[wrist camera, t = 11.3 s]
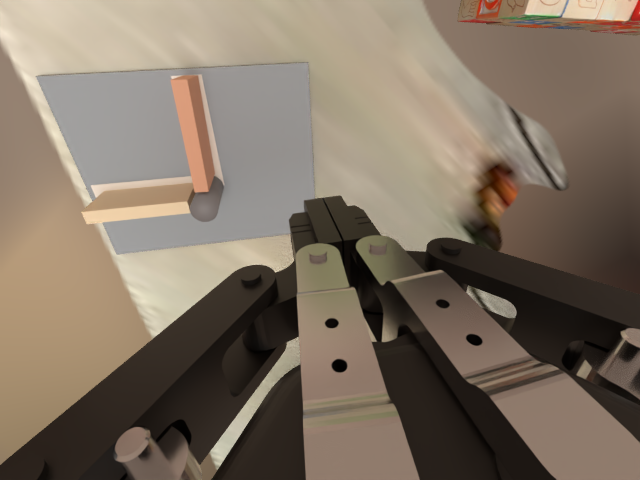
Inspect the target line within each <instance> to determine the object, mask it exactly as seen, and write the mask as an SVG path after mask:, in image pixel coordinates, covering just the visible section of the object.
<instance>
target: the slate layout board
mask: <svg viewBox="0 0 640 480" xmlns="http://www.w3.org/2000/svg"><path fill="white" fill-rule="evenodd" d="M183 75H198V79H199V85H200V91H201V96H202V102H203V108H204V113H205V119H206V125H207V131H208V136H209V142H210V148H211V153H212V159H213V165H214V170H215V175H214V178H213V181H212V184H211V187H210V189H209V192H196V193H195V191H194V187H193V182H192V178H191V173H190V168H189V164H188V159H187V155H186V150H185V145H184V141H183V136H182V131H181V127H180V122H179V118H178V113H177V108H176V104H175V99H174V95H173V90H172V85H171V81H170V80H171V79H174V78H177V77H180V76H183ZM36 78H37V80H38V82H39V84H40V86H41V89H42V91H43V93H44V95H45V97H46V100H47V102H48V104H49V106H50V108H51V111H52V113H53V115H54V117H55V119H56V122H57V124H58V126H59V128H60V131H61V133H62V135H63V137H64V139H65V142H66V144H67V146H68V148H69V150H70V153H71V155H72V157H73V159H74V161H75V164H76V166H77V168H78V170H79V172H80V175H81V177H82V179H83V181H84V183H85V186H86V188H87V190H88V192H89V194H90V197H91V199H92V201H93V202H91V203H90V204H89V205H88V206H87V207H86V208H85V209H84V210H83V211H82V212H81V213H82V215H83V217H84V219H85V221H86V223H87V224H91V223H103V225H104V227H105V230H106V232H107V234H108V236H109V238H110V241H111V243H112V245H113V247H114V249H115V252H116V254H126V253H134V252H143V251H151V250H160V249H168V248H176V247H185V246H193V245H202V244H210V243H219V242H227V241H236V240H244V239H253V238H261V237H270V236H278V235H287V234H290V226H289V219H290V217H291V216H292V214H293V213H301V212H304V200H309V199H315V189H314V169H313V149H312V129H311V109H310V89H309V69H308V62H306V63H286V64H266V65H246V66H226V67H206V68H186V69H166V70H146V71H127V72H107V73H87V74H67V75H47V76H36Z"/></svg>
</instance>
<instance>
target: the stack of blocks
mask: <svg viewBox="0 0 640 480" xmlns="http://www.w3.org/2000/svg"><path fill="white" fill-rule="evenodd" d="M458 22H476V23H486V24H489V25H504V26H517V27H531V28H543V27H544V28H558V29H575V30H589V31H591V32H603V33H615V34H625V35H640V0H461V4H460V8H459V14H458Z"/></svg>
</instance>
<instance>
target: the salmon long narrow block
mask: <svg viewBox="0 0 640 480" xmlns="http://www.w3.org/2000/svg"><path fill="white" fill-rule="evenodd" d="M170 81H171V85H172V90H173V95H174V99H175V104H176V108H177V113H178V118H179V122H180V127H181V131H182V136H183V141H184V145H185V150H186V155H187V159H188V164H189V168H190V173H191V178H192V182H193V187H194V191H195V193H196V192H209V189H210V187H211V184H212V181H213V178H214V175H215V170H214V165H213V159H212V153H211V148H210V142H209V136H208V131H207V125H206V119H205V113H204V108H203V102H202V96H201V91H200V85H199V79H198V75H183V76H180V77H177V78H174V79H171V80H170Z"/></svg>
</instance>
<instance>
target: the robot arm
mask: <svg viewBox="0 0 640 480" xmlns="http://www.w3.org/2000/svg"><path fill="white" fill-rule="evenodd" d="M289 226H290V234H291V242H292V250H293V256H294V262H293V263H292V264H291V265H290V266H289V267H287V268H286V269H284V270H281V271H279V272H276V273H275V272H274V270H272V269H271V268H270V267H267V266H263V265H251V266H246V267H243V268H241V269H239V270H237V271H235V272H234V273H232V274H231V275H230V276H229V277H228V278H226V279H225V280H224V281H223V282H221V283H220V284H219V285H218V286H217V287H215V288H214V289H213V290H212V291H211V292H209V293H208V294H207V295H206V296H205V297H203V298H202V299H201V300H200V301H198V302H197V303H196V304H195V305H194V306H192V307H191V308H190V309H189V310H188V311H186V312H185V313H184V314H183V315H181V316H180V317H179V318H178V319H177V320H175V321H174V322H173V323H172V324H171V325H169V326H168V327H167V328H166V329H164V330H163V331H162V332H161V333H160V334H158V335H157V336H156V337H155V338H154V339H152V340H151V341H150V342H149V343H147V344H146V345H145V346H144V347H143V348H141V349H140V350H139V351H138V352H137V353H135V354H134V355H133V356H132V357H130V358H129V359H128V360H127V361H126V362H124V363H123V364H122V365H121V366H120V367H118V368H117V369H116V370H115V371H114V372H112V373H111V374H110V375H109V376H108V377H106V378H105V379H104V380H103V381H101V382H100V383H99V384H98V385H97V386H95V387H94V388H93V389H92V390H91V391H89V392H88V393H87V394H86V395H84V396H83V397H82V398H81V399H80V400H78V401H77V402H76V403H75V404H74V405H72V406H71V407H70V408H69V409H68V410H66V411H65V412H64V413H63V414H62V415H60V416H59V417H58V418H57V419H55V420H54V421H53V422H52V423H50V424H49V425H48V426H47V427H46V428H44V429H43V430H42V431H41V432H39V433H38V434H37V435H36V436H35V437H33V438H32V439H31V440H30V441H29V442H27V443H26V444H25V445H24V446H23V447H21V448H20V449H19V450H18V451H16V452H15V453H14V454H13V455H12V456H10V457H9V458H8V459H7V460H6V461H5V462H3V463H2V464H1V465H0V480H202V473H201V469H200V466H199V465H200V464H201V462H202V461H203V460H204V459H205V457H206V456H207V455H208V453H209V452H210V451H211V449H212V448H213V447H214V445H215V444H216V443H217V441H218V440H219V439H220V437H221V436H222V435H223V433H224V432H225V431H226V429H227V428H228V427H229V425H230V424H231V422H232V421H233V420H234V418H235V417H236V416H237V414H238V413H239V412H240V410H241V409H242V408H243V406H244V405H245V404H246V402H247V401H248V400H249V398H250V397H251V396H252V394H253V393H254V392H255V390H256V389H257V388H258V386H259V385H260V384H261V382H262V381H263V380H264V378H265V377H266V375H267V374H268V373H269V371H270V370H271V369H272V367H273V366H274V365H275V363H276V362H277V361H278V359H279V358H280V357H281V355H282V354H283V353H284V351H285V349H286V345H287V342H288V341H290V340H292V339H295V338H297V337H299V344H300V362H301V364H300V365H298V366H296V367H295V368H293V369H292V370H290V371H289V372H288V373H286V374H285V375H284V376H283V377H282V378H281V379H280V380H279V381H278V382H277V383H276V384H275V385H274V386H273V388H272V389H271V390H270V391H269V393H268V394H267V395H266V397H265V398H264V400H263V401H262V403H261V405H260V406H259V408H258V409H257V411H256V412H255V414H254V415H253V417H252V418H251V420H250V421H249V423H248V424H247V426H246V427H245V429H244V431H243V432H242V434H241V435H240V437H239V438H238V440H237V441H236V443H235V444H234V446H233V447H232V449H231V450H230V452H229V453H228V455H227V457H226V458H225V460H224V461H223V463H222V464H221V466H220V467H219V469H218V470H217V472H216V474H215V475H214V477H213V478H212V479H211V480H640V295H639V294H636V293H633V292H630V291H626V290H623V289H620V288H616V287H613V286H610V285H606V284H603V283H600V282H597V281H593V280H590V279H587V278H583V277H580V276H577V275H574V274H570V273H567V272H564V271H560V270H557V269H554V268H550V267H547V266H544V265H541V264H537V263H534V262H530V261H527V260H524V259H521V258H517V257H514V256H511V255H508V254H504V253H501V252H498V251H494V250H491V249H488V248H484V247H481V246H478V245H475V244H471V243H468V242H465V241H461V240H458V239H453V238H437V239H434V240H432V241H430V242H429V243H428V244H427V248H426V252H419V251H405V250H404V249H403V248H402V247H401V245H400V244H399V243H398V242H397V241H395V240H394V239H392V238H390V237H386V236H381V234H380V233H379V232H378V230H377V229H376V227H375V226H374V224H373V223H371V220H370V219H369V217H368V216H367V215H366V213H365V212H364V210H362V209H360V208H359V207H357V206H355V205H354V206H347V205H346V203H345V202H344V200H343V198H342V197H341V196H333V197H325V198H317V199H309V200H304V212H301V213H293V214H292V216H291V217H290V219H289ZM468 285H469V286H472V287H474V288H477V289H480V290H482V291H485V292H488V293H490V294H493V295H495V296H498V297H501V298H503V299H506V300H508V301H509V302H511V303H512V304H513V305H514V306H515V308H516V311H517V315H516V318H506V317H503V316H501V315H499V314H496V313H494V312H491V311H489V310H486V309H484V308H482V307H480V306H479V305H478V304H477V303H476V302H475V301H474V300H473V299H472V298H471V297H470V296H469V295H468V294H467V293H466V291H467V287H468Z"/></svg>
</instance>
